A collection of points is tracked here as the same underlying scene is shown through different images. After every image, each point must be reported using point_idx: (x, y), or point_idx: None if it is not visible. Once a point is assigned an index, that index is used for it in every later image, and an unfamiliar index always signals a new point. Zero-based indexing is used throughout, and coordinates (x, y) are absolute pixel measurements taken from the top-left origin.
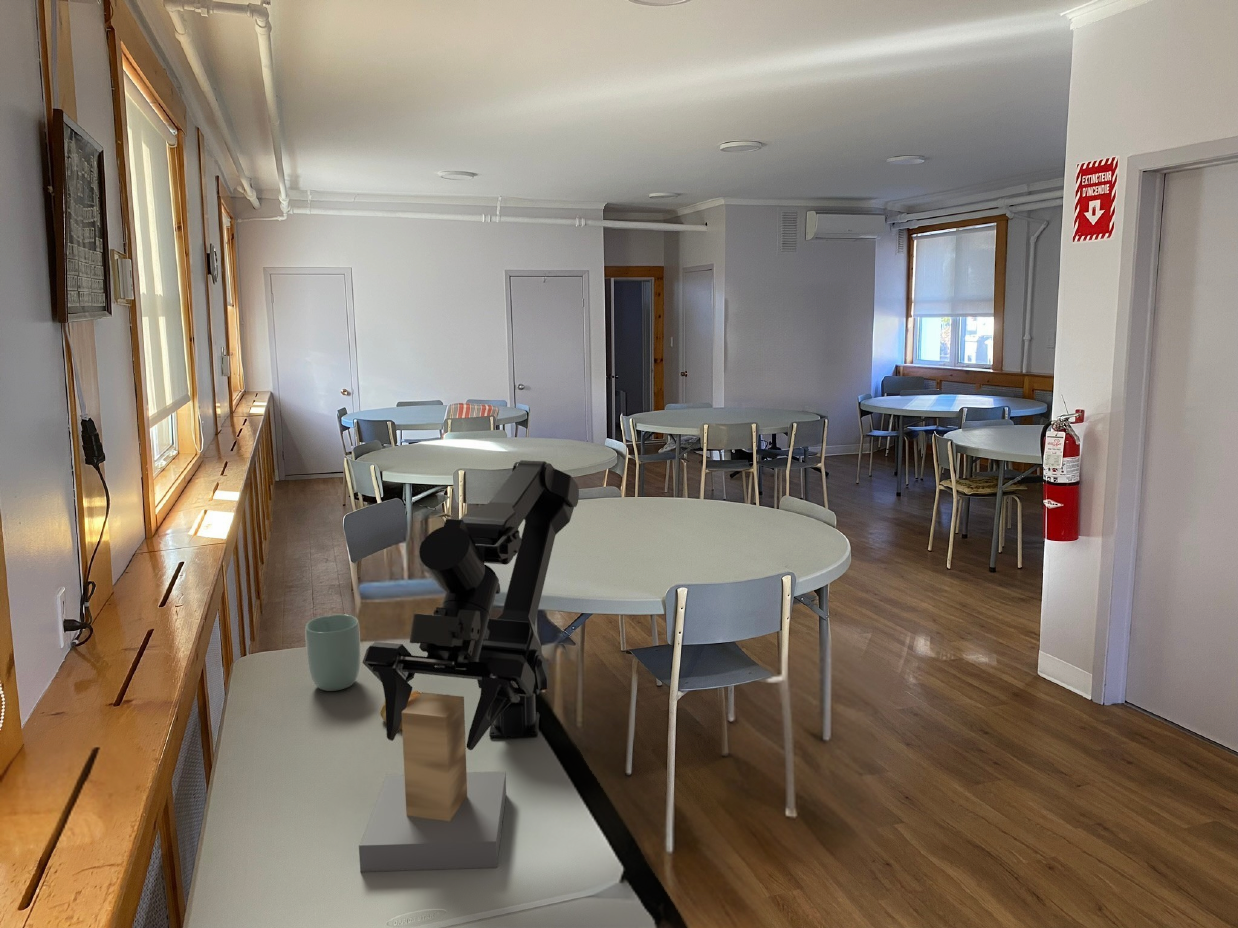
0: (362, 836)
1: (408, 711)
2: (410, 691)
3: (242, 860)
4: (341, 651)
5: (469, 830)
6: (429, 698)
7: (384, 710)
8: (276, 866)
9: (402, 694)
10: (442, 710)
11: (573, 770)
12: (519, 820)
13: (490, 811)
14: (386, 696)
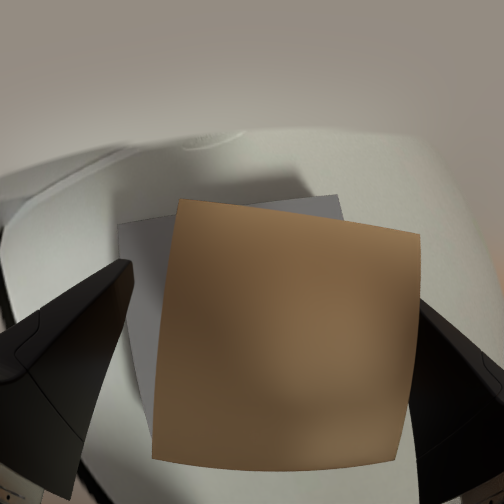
0: (342, 216)
1: (396, 244)
2: (423, 493)
3: (453, 224)
4: None
5: (166, 250)
6: (343, 414)
7: None
8: (420, 215)
9: (453, 439)
10: (218, 274)
11: (88, 482)
12: (121, 359)
13: (142, 313)
14: (500, 369)
